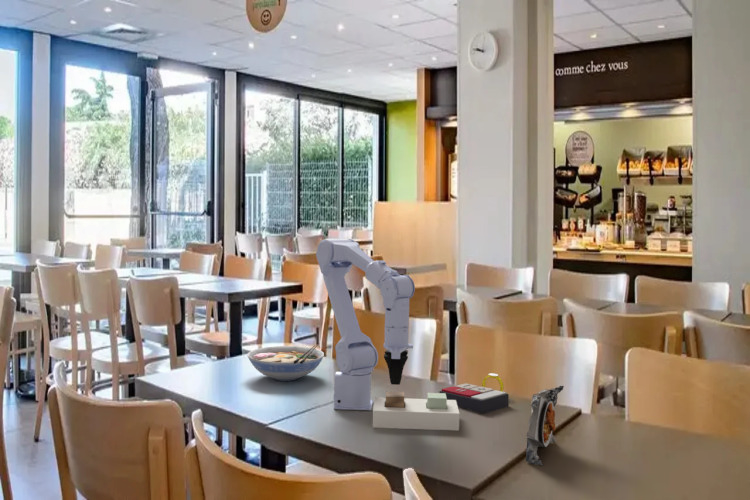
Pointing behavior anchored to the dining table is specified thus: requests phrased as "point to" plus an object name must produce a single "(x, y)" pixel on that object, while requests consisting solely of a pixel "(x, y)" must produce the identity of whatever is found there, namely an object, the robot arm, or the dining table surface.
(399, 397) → the walnut key
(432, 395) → the sage key
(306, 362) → the ramen bowl
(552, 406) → the meal
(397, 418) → the key panel
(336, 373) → the robot arm
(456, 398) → the calculator
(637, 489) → the dining table surface
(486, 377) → the watch
